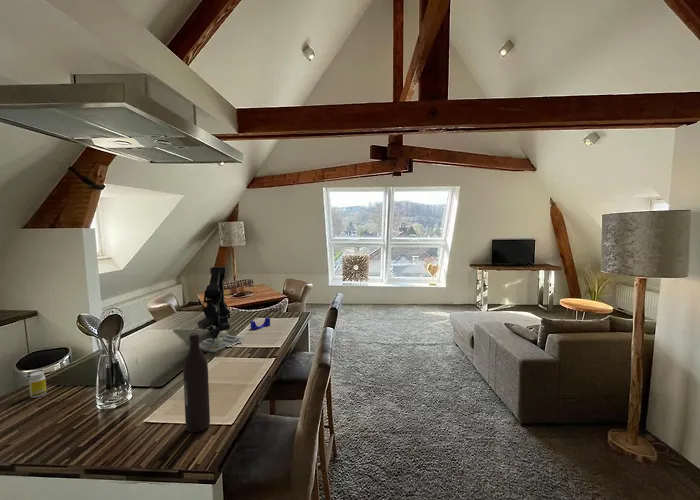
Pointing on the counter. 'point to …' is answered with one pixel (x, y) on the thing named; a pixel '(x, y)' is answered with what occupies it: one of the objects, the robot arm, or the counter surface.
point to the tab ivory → (223, 334)
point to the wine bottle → (196, 388)
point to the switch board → (212, 347)
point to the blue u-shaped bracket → (266, 323)
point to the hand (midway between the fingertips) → (214, 340)
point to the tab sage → (218, 340)
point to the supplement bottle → (37, 384)
